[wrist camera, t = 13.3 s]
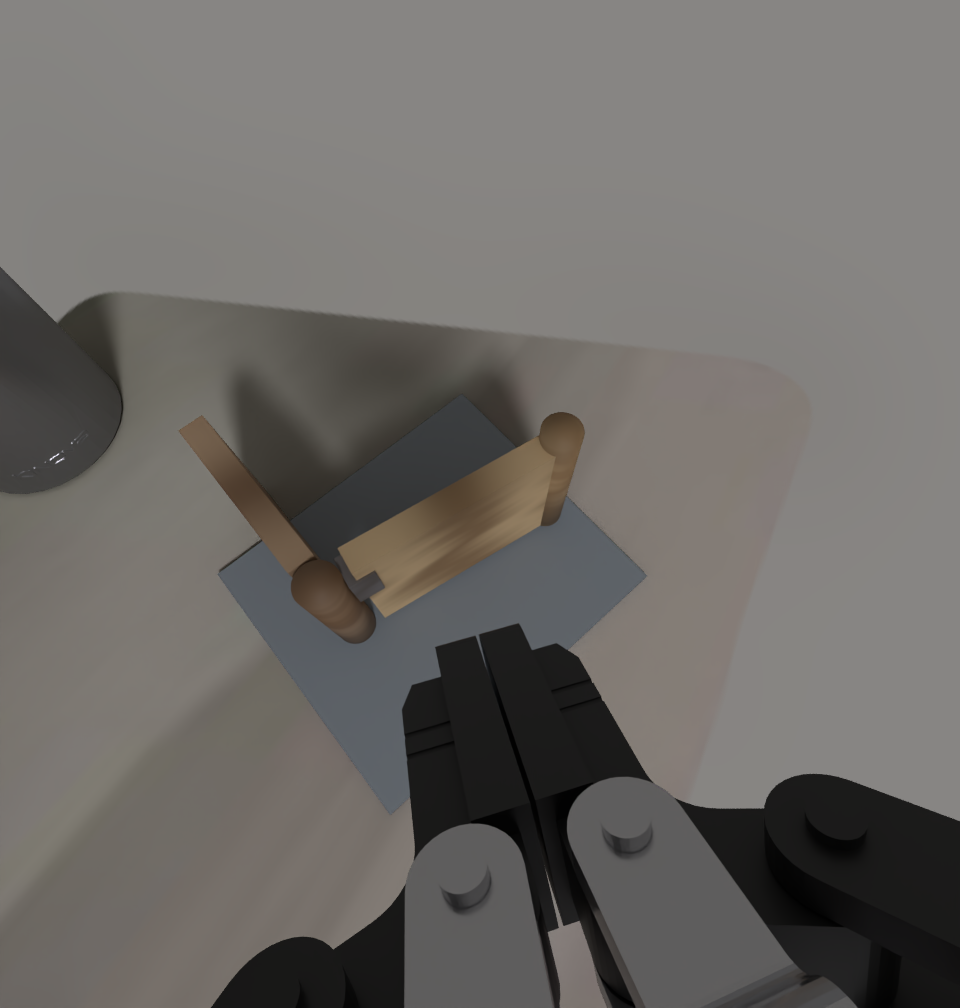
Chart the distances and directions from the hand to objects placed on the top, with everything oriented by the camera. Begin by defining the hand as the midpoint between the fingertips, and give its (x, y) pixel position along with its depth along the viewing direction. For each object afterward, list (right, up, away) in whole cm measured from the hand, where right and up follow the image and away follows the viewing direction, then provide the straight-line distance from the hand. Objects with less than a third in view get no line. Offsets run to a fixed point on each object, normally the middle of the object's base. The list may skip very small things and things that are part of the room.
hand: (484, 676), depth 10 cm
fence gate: (-1, 0, +21) cm, 21 cm away
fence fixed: (-9, 0, +22) cm, 23 cm away
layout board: (-3, -1, +21) cm, 21 cm away
